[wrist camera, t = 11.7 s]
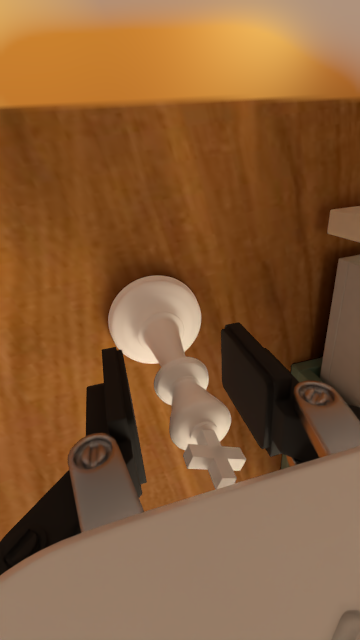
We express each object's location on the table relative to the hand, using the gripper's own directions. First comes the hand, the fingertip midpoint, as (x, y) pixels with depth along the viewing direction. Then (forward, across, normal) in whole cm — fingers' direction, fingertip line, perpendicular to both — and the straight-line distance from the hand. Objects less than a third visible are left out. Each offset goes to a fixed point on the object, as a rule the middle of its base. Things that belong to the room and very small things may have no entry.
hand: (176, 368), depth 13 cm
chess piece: (+5, 0, 0) cm, 5 cm away
